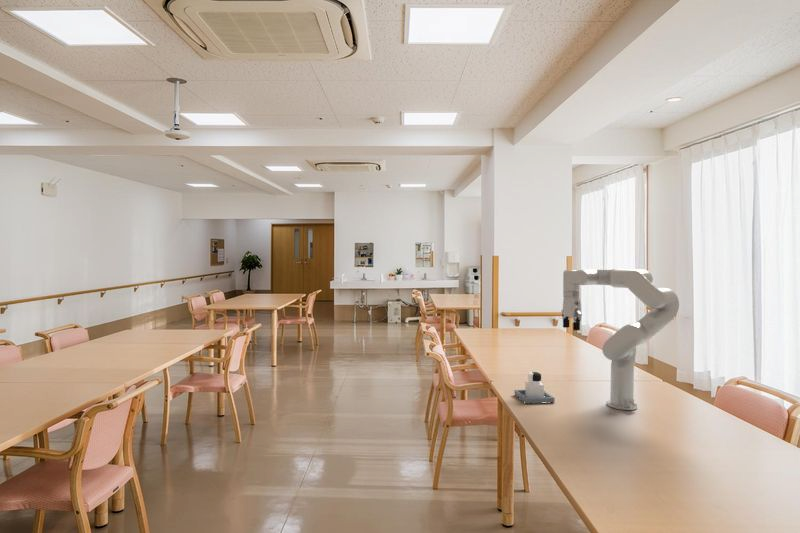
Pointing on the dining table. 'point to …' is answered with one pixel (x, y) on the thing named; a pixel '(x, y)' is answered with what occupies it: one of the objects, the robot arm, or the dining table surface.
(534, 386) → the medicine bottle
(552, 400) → the tray
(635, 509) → the dining table surface
